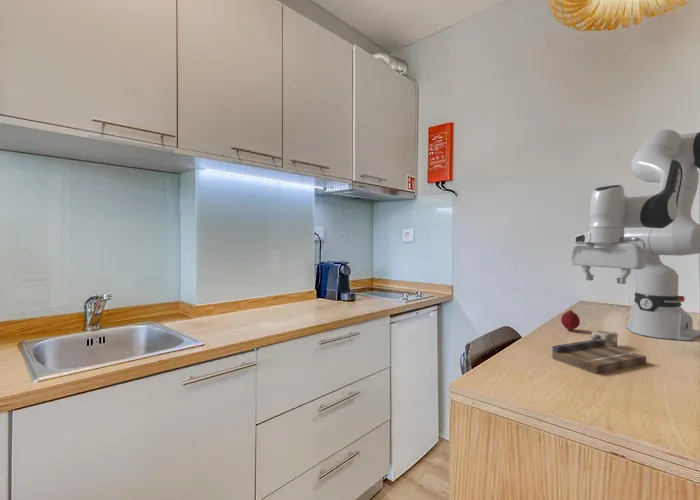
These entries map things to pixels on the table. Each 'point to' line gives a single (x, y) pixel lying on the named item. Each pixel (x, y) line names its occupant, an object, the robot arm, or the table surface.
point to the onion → (570, 320)
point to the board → (596, 356)
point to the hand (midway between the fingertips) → (604, 281)
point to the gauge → (606, 337)
